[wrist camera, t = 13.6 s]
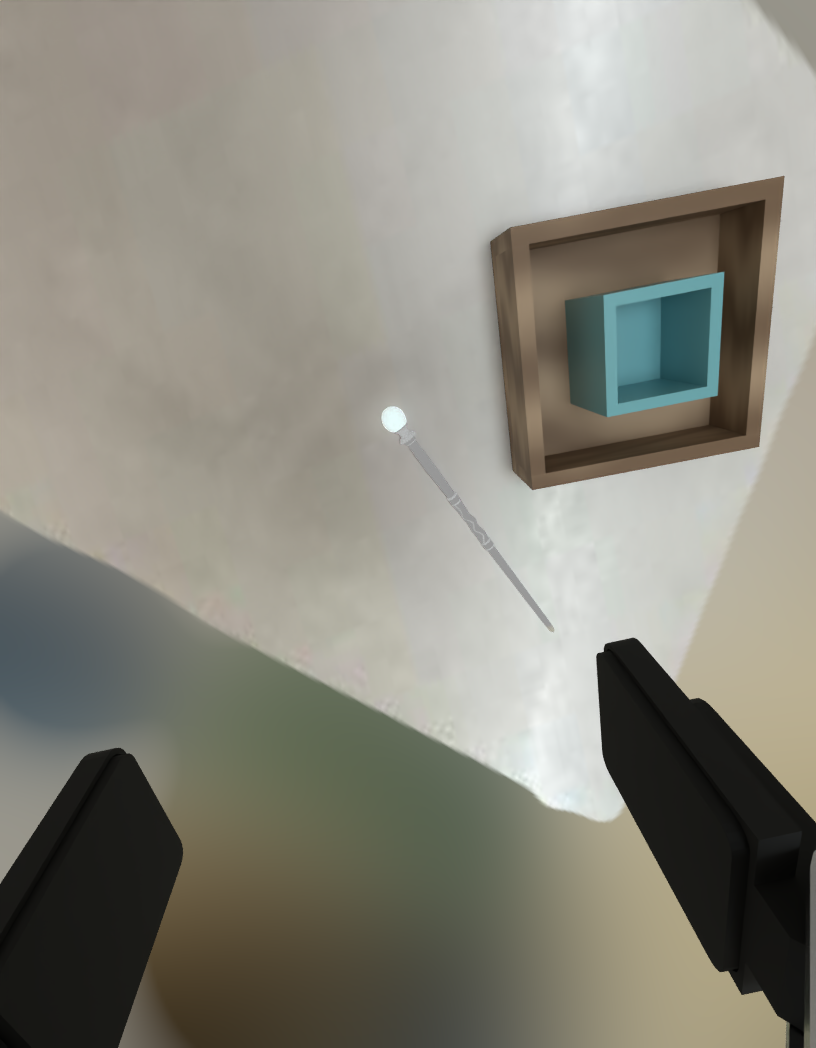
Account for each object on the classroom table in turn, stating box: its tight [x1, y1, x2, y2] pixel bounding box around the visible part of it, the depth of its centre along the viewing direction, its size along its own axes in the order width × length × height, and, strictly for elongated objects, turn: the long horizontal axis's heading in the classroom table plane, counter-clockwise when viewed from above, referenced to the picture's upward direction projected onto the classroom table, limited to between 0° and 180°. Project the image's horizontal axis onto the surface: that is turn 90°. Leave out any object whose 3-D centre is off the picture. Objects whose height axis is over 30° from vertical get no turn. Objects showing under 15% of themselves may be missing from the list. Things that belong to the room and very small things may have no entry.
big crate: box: [491, 176, 784, 490], centre depth 34 cm, size 16×16×5 cm
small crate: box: [565, 272, 724, 417], centre depth 32 cm, size 7×7×6 cm
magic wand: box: [382, 406, 554, 632], centre depth 41 cm, size 2×25×2 cm
